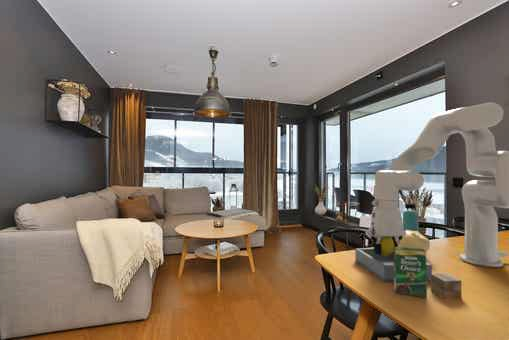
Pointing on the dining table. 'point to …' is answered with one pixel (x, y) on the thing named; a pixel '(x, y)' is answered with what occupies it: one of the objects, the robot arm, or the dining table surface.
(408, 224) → the beverage bottle
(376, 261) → the tote
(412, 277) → the coffee box
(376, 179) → the robot arm
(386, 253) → the lemon
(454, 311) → the dining table surface
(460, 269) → the dining table surface
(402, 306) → the dining table surface
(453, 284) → the walnut cube
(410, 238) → the sculpture
